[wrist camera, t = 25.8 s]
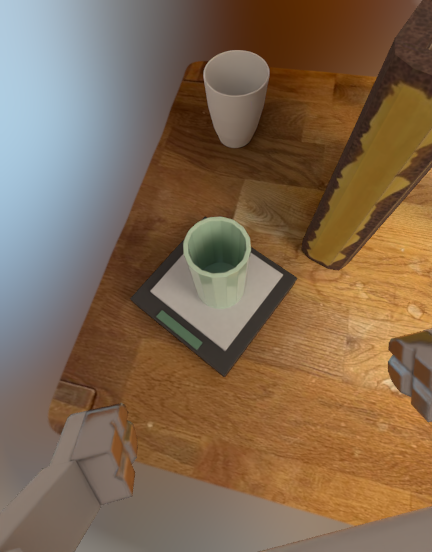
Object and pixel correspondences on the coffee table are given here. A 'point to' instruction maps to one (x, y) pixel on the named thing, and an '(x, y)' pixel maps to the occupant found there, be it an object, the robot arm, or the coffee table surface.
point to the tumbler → (218, 260)
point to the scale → (209, 321)
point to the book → (380, 150)
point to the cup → (236, 94)
